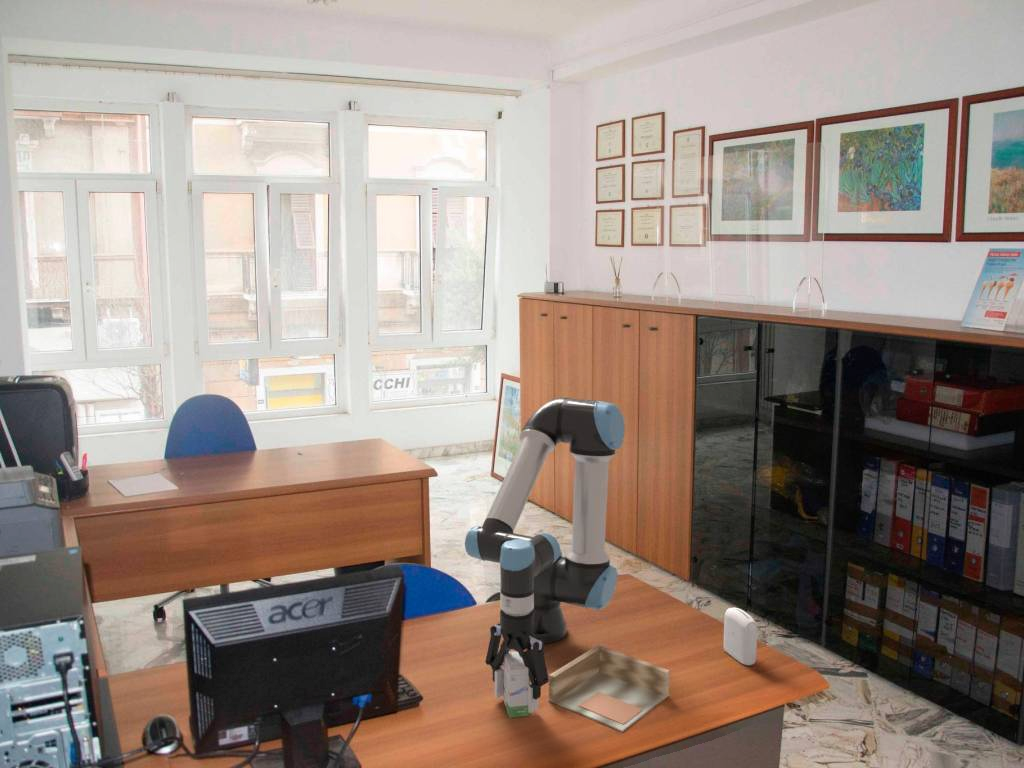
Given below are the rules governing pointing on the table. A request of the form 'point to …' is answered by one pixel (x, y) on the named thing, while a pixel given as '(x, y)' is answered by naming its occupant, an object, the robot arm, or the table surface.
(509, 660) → the ink box
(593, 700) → the pad
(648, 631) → the table surface
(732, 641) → the photo printer
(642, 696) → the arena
